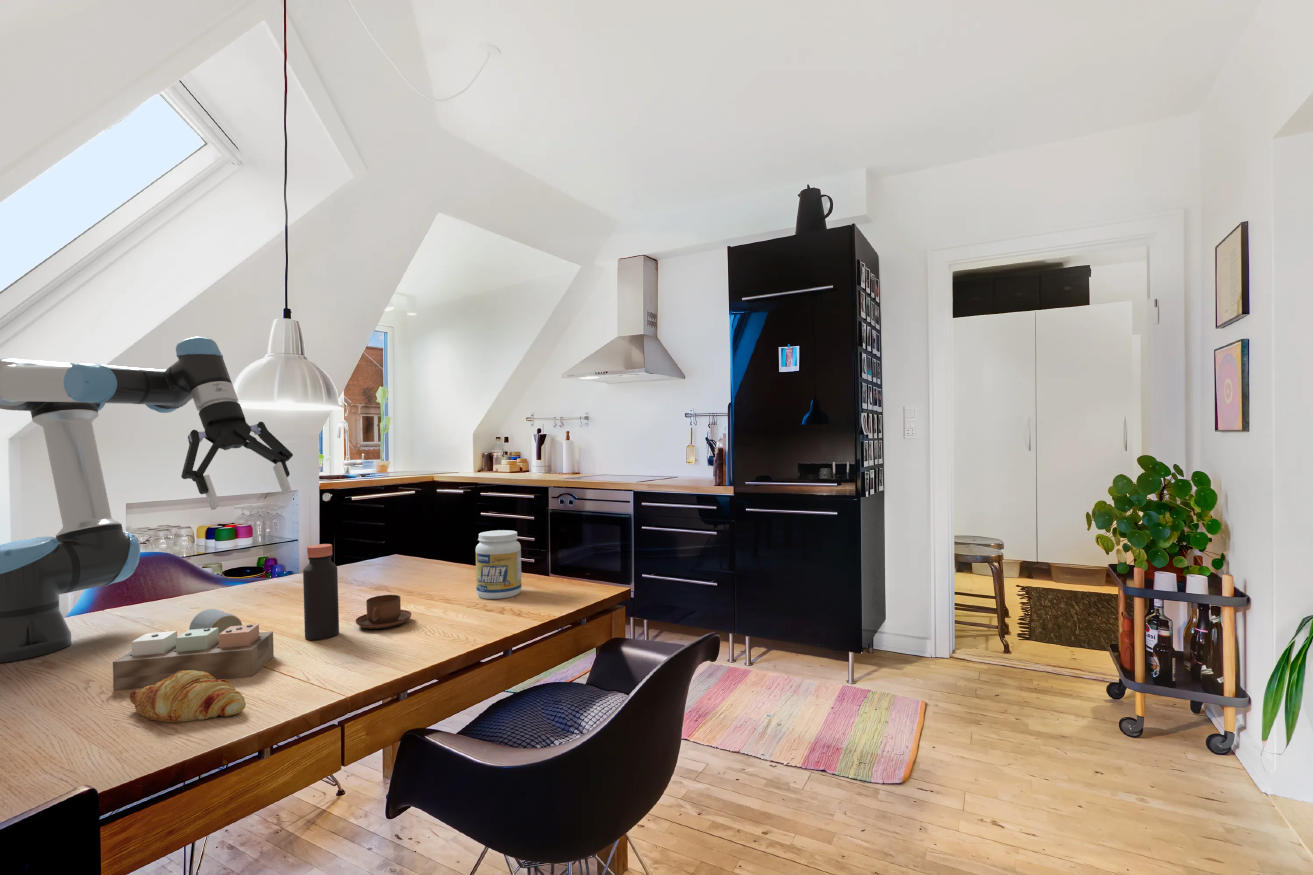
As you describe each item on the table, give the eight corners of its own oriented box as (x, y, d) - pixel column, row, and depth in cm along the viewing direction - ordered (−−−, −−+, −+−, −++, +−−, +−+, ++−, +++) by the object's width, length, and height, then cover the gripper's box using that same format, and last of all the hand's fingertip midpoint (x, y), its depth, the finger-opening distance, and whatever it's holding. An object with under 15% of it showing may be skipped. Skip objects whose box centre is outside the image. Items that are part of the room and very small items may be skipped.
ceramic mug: (211, 653, 131) (211, 617, 131) (188, 648, 134) (187, 613, 134) (259, 638, 140) (259, 605, 140) (237, 634, 143) (236, 602, 143)
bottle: (346, 631, 143) (343, 543, 143) (322, 641, 136) (320, 549, 136) (321, 630, 145) (319, 542, 145) (297, 639, 138) (294, 548, 138)
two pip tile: (176, 656, 117) (175, 636, 117) (189, 647, 122) (188, 628, 122) (207, 653, 118) (206, 634, 118) (219, 645, 123) (218, 626, 123)
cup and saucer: (411, 628, 145) (411, 601, 145) (353, 635, 140) (353, 608, 140) (411, 615, 156) (410, 590, 156) (357, 621, 152) (357, 595, 152)
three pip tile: (219, 652, 119) (218, 633, 119) (230, 644, 124) (230, 625, 123) (249, 650, 120) (248, 630, 120) (259, 641, 125) (258, 622, 125)
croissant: (259, 729, 103) (275, 677, 107) (212, 726, 95) (232, 669, 98) (147, 720, 107) (167, 670, 110) (92, 715, 98) (116, 661, 102)
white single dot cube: (132, 660, 115) (131, 640, 115) (147, 651, 120) (146, 632, 120) (163, 657, 117) (163, 637, 117) (177, 648, 121) (177, 629, 121)
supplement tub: (472, 601, 167) (470, 537, 167) (480, 589, 179) (479, 530, 179) (519, 599, 168) (517, 535, 168) (524, 587, 180) (523, 528, 180)
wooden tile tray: (113, 689, 112) (112, 661, 112) (147, 667, 123) (146, 642, 123) (252, 676, 117) (251, 649, 117) (273, 655, 128) (273, 631, 128)
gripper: (151, 406, 121) (187, 507, 118) (287, 393, 141) (320, 480, 139) (142, 422, 125) (176, 520, 123) (275, 408, 146) (307, 492, 143)
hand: (252, 499), depth 131 cm, fingers open, 13 cm apart
